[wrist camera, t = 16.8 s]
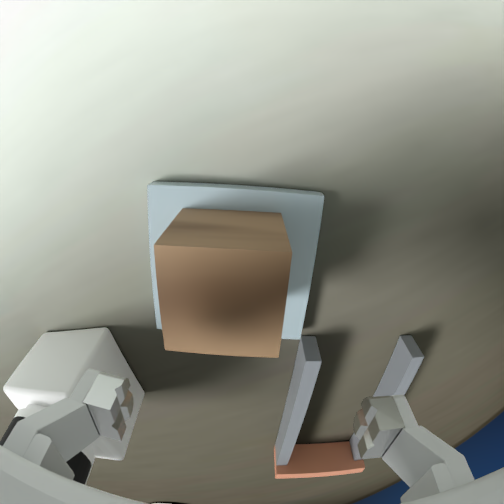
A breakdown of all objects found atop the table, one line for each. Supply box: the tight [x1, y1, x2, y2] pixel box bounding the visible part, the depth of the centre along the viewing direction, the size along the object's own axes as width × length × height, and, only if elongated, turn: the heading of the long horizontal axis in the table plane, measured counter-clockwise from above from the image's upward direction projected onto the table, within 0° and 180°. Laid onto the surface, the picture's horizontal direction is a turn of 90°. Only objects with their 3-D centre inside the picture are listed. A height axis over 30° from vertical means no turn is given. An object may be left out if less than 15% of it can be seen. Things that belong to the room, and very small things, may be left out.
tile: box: [148, 181, 324, 339], centre depth 17 cm, size 9×9×1 cm
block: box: [154, 208, 292, 358], centre depth 14 cm, size 5×5×5 cm
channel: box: [274, 335, 424, 478], centre depth 21 cm, size 15×8×4 cm, turn 176°
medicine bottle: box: [0, 327, 144, 485], centre depth 16 cm, size 7×7×12 cm
